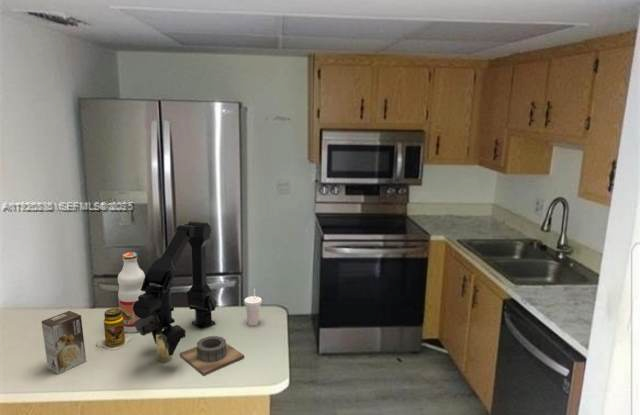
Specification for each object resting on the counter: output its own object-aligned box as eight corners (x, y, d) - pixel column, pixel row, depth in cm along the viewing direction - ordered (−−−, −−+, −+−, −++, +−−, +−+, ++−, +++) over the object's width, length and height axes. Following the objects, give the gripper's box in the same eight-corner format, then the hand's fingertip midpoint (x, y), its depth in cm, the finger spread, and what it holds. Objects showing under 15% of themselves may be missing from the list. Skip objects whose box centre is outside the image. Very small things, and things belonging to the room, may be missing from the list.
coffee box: (75, 355, 155) (70, 309, 151) (86, 361, 151) (82, 314, 148) (46, 368, 147) (40, 320, 143) (58, 375, 144) (52, 326, 140)
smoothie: (258, 328, 175) (258, 293, 172) (242, 326, 177) (241, 291, 173) (264, 320, 182) (264, 286, 178) (248, 318, 183) (247, 284, 179)
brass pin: (154, 358, 154) (153, 333, 152) (167, 354, 157) (166, 329, 155) (161, 364, 151) (159, 338, 149) (174, 359, 154) (172, 334, 152)
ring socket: (179, 355, 156) (178, 342, 155) (219, 340, 166) (218, 327, 165) (203, 375, 145) (203, 361, 144) (244, 358, 156) (244, 344, 154)
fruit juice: (148, 331, 171) (144, 257, 165) (120, 335, 168) (114, 259, 161) (148, 319, 180) (143, 249, 173) (121, 323, 177) (115, 251, 170)
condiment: (116, 350, 158) (113, 317, 156) (95, 345, 161) (92, 313, 158) (131, 339, 165) (128, 308, 162) (111, 335, 168) (108, 304, 165)
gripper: (123, 302, 150) (127, 346, 154) (150, 323, 137) (153, 371, 141) (157, 292, 158) (159, 335, 162) (185, 311, 145) (187, 357, 149)
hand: (164, 349), depth 153 cm, fingers open, 9 cm apart
